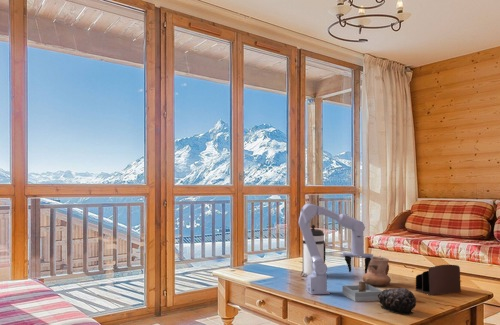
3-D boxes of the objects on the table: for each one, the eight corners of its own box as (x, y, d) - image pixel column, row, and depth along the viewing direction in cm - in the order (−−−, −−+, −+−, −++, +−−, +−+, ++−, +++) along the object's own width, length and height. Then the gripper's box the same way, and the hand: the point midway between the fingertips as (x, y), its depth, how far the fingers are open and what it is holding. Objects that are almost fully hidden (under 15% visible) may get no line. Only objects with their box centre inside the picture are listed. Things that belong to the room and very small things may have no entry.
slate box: (355, 301, 191) (355, 292, 192) (342, 294, 205) (342, 285, 205) (383, 300, 194) (383, 291, 194) (369, 292, 208) (369, 284, 208)
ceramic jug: (375, 289, 215) (375, 261, 216) (355, 283, 228) (355, 256, 229) (399, 286, 224) (399, 259, 225) (378, 280, 237) (378, 254, 238)
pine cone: (383, 303, 189) (383, 281, 189) (420, 313, 175) (420, 288, 175) (369, 307, 182) (369, 284, 183) (407, 317, 168) (406, 292, 169)
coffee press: (330, 279, 238) (329, 225, 240) (301, 278, 239) (301, 225, 241) (325, 273, 256) (325, 223, 258) (299, 272, 256) (298, 223, 258)
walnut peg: (360, 298, 198) (360, 283, 198) (357, 296, 201) (357, 281, 201) (366, 298, 198) (366, 282, 198) (364, 296, 201) (364, 281, 202)
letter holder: (461, 292, 210) (460, 263, 211) (430, 296, 203) (429, 266, 204) (445, 288, 219) (444, 260, 220) (415, 291, 212) (414, 262, 213)
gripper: (341, 244, 209) (341, 272, 208) (371, 246, 203) (371, 275, 202) (344, 243, 215) (344, 270, 214) (373, 244, 209) (373, 272, 208)
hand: (358, 272), depth 208 cm, fingers open, 7 cm apart
